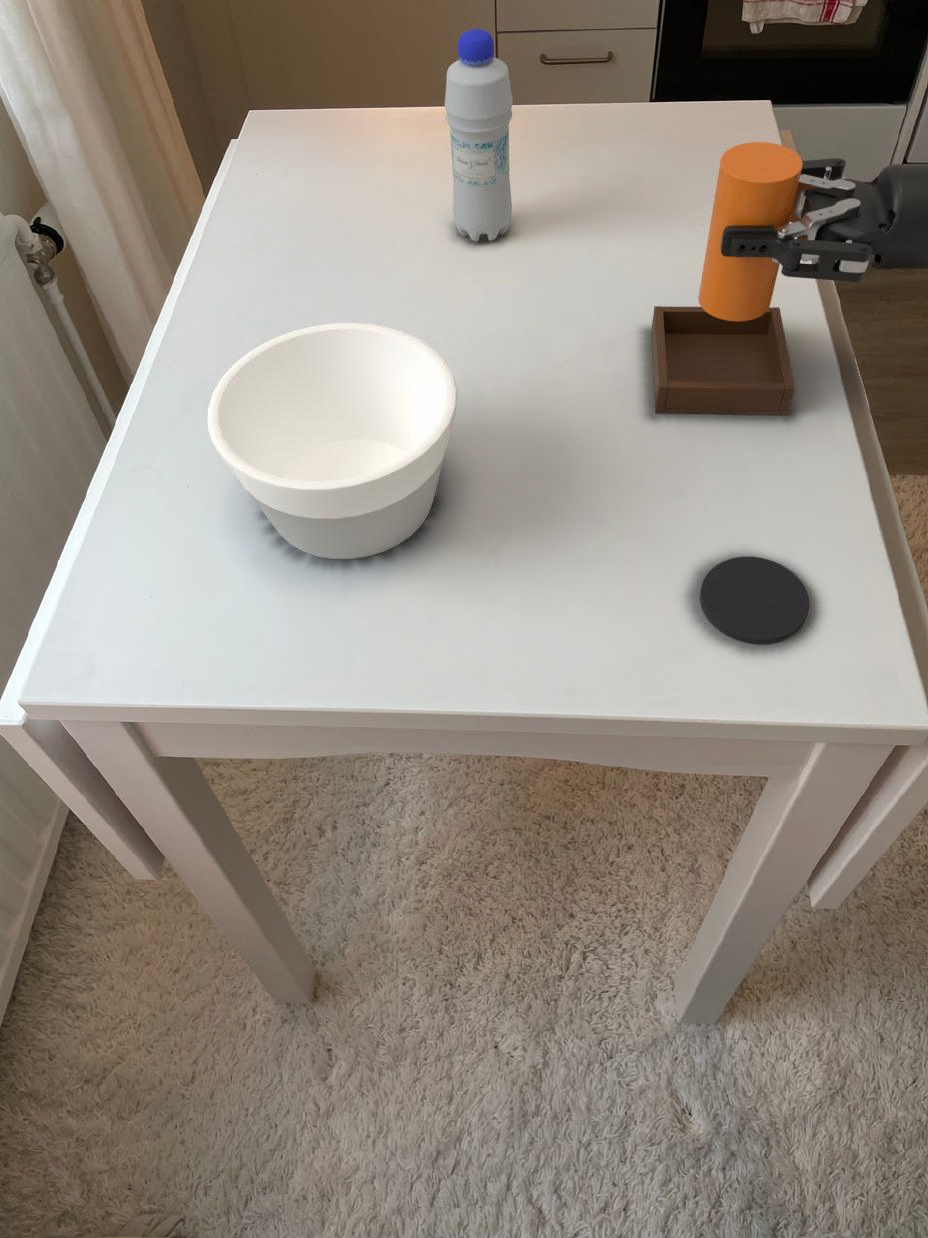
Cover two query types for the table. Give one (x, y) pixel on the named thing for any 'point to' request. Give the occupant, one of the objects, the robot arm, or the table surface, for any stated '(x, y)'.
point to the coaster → (754, 600)
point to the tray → (719, 363)
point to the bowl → (337, 434)
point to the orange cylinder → (747, 195)
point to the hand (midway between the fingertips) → (719, 217)
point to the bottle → (479, 137)
